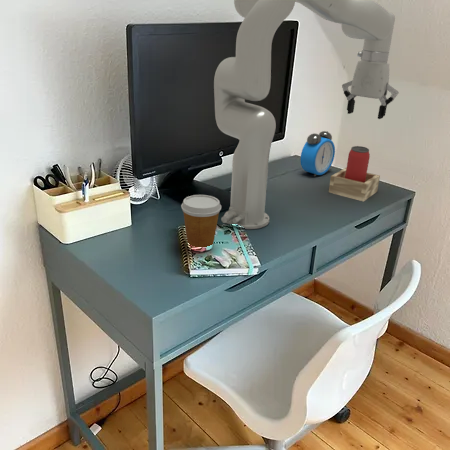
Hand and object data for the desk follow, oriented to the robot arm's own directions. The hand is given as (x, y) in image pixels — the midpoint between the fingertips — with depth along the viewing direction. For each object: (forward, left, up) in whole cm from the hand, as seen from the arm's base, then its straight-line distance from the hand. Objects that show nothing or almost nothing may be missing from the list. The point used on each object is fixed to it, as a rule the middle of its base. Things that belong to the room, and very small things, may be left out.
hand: (365, 115), depth 153 cm
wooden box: (0, 0, -26) cm, 26 cm away
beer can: (0, 0, -23) cm, 23 cm away
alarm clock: (+9, +18, -25) cm, 32 cm away
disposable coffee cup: (-64, +14, -25) cm, 70 cm away
